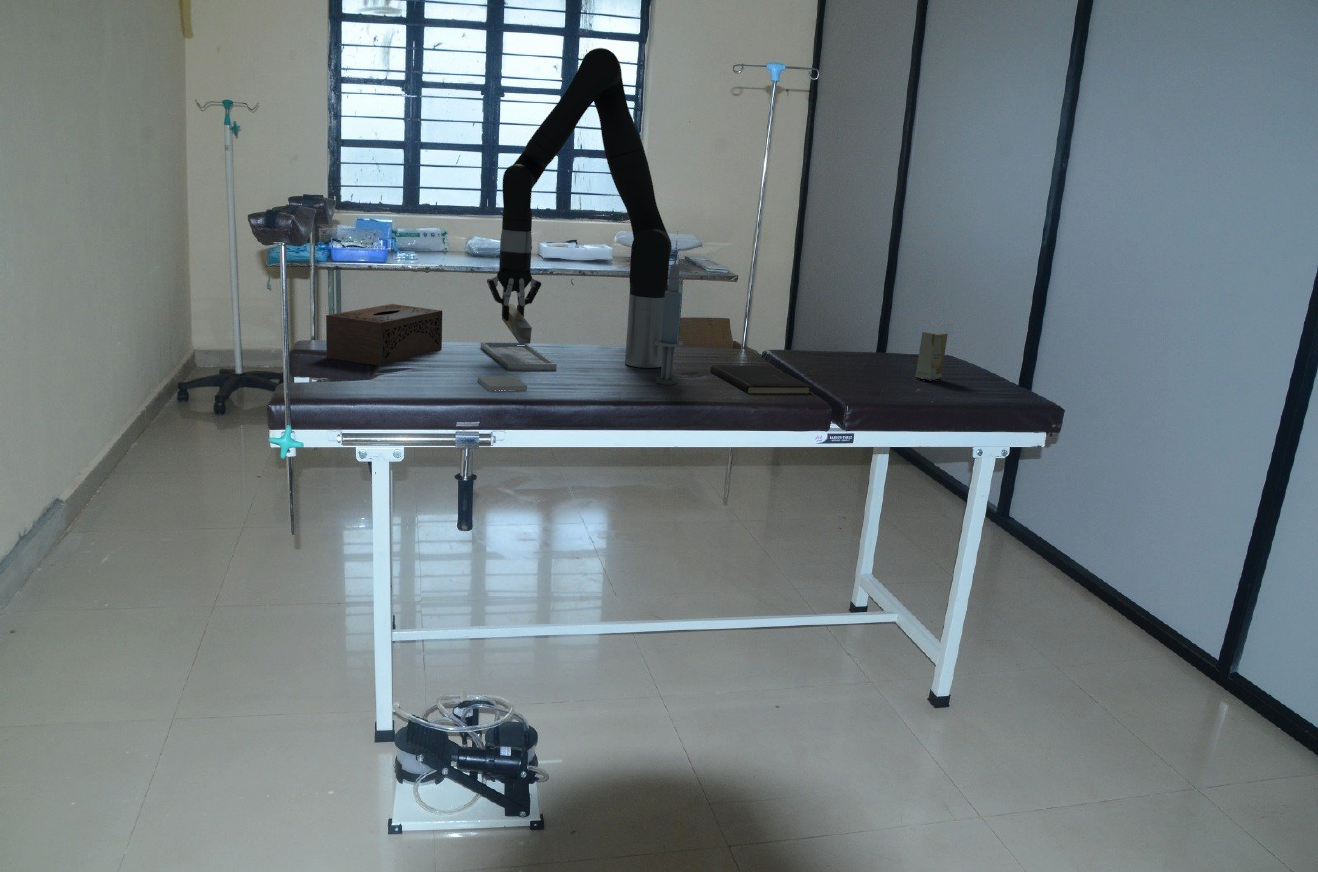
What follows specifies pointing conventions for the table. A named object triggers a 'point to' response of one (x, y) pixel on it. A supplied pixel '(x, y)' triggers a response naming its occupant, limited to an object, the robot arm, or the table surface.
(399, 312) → the tissue box cover
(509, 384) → the tile
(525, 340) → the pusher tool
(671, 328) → the syringe
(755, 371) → the hardcover book
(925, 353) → the skincare box
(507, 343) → the instrument tray
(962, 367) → the table surface
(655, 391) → the table surface
